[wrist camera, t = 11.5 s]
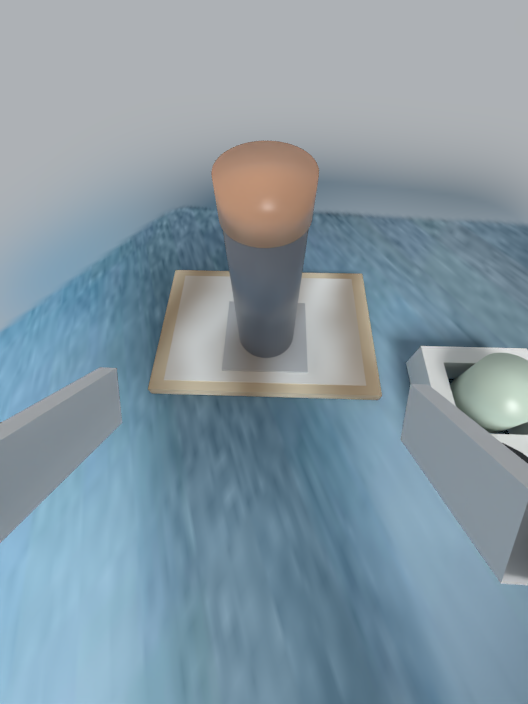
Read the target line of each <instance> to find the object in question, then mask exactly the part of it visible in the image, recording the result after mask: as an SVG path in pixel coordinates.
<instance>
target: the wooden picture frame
mask: <svg viewBox="0 0 528 704" xmlns="http://www.w3.org/2000/svg"><path fill="white" fill-rule="evenodd" d="M148 390H149V391H150V392H151V393H159V394H193V395H227V396H261V397H295V398H329V399H363V400H379V399H380V397H381V396H382V393H381V387H380V381H379V374H378V368H377V362H376V356H375V350H374V344H373V337H372V331H371V325H370V319H369V313H368V307H367V301H366V294H365V288H364V282H363V276H362V274H346V273H302V278H301V285H300V292H299V299H298V306H297V313H296V320H295V327H294V334H293V340H292V343H291V345H290V347H289V348H288V349H287V350H286V351H285V352H284V353H282V354H280V355H278V356H276V357H271V358H261V357H257V356H254V355H252V354H250V353H249V352H248V351H246V349H245V348H244V347H243V346H242V344H241V341H240V336H239V330H238V324H237V317H236V311H235V304H234V298H233V292H232V285H231V279H230V272H229V271H198V270H176V271H175V275H174V279H173V284H172V288H171V292H170V296H169V301H168V305H167V309H166V314H165V318H164V322H163V326H162V331H161V335H160V339H159V344H158V348H157V352H156V356H155V361H154V365H153V369H152V374H151V378H150V382H149V387H148Z"/></svg>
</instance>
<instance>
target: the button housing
mask: <svg viewBox="0 0 528 704" xmlns="http://www.w3.org/2000/svg"><path fill="white" fill-rule="evenodd" d="M492 353H509V354H513V355H517V356H519V357H522V358H524V359H526V360H527V361H528V350H527V349H522V348H483V347H444V346H420V348H419V349H418V350H417V351H416V352H415V353H414V354H413V355H412V357H411V358H410V359H409V360H408V361H407V362H406V365H407V370H408V374H409V379H410V384H427V385H430V386H431V387H432V388H433V389H435V390H436V391H437V392H438V393H440V394H441V395H442V396H443V397H445V398H446V399H447V400H448V401H450V402H451V403H452V404H453V405H455V401H454V398H453V394H452V391H451V387H450V384H449V380H448V378H449V379H455V378H457V377H458V376H459V375H461V374H462V373H464V372H465V371H466V370H468V369H469V368H470V367H472V366H473V365H474V364H476V363H477V362H478V361H480V360H481V359H482V358H484V357H485V356H487V355H489V354H492ZM455 406H456V405H455ZM508 431H509V434H491V435H492V436H494V437H495V438H496V439H497V440H499V441H500V442H501V443H504V444H506V445H508V446H510V447H512V448H514V449H516V450H518V451H520V452H522V453H523V454H524V455H526V456H527V457H528V422H526V423H523V424H520V425H518V426H515V427H512V428H510V429H508Z"/></svg>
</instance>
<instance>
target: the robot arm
mask: <svg viewBox="0 0 528 704" xmlns="http://www.w3.org/2000/svg"><path fill="white" fill-rule="evenodd" d="M121 423H122V417H121V407H120V397H119V387H118V377H117V368H103V367H100V368H98V369H96V370H95V371H93V372H91V373H89V374H87V375H86V376H84V377H82V378H80V379H78V380H77V381H75V382H73V383H71V384H70V385H68V386H66V387H64V388H62V389H61V390H59V391H57V392H55V393H53V394H52V395H50V396H48V397H46V398H44V399H43V400H41V401H39V402H37V403H36V404H34V405H32V406H30V407H28V408H27V409H25V410H23V411H21V412H19V413H18V414H16V415H14V416H12V417H11V418H9V419H7V420H5V421H3V422H1V423H0V543H1V542H2V541H3V540H4V539H5V538H6V537H7V536H8V535H9V534H10V533H11V532H12V531H13V530H14V529H15V528H16V527H17V526H18V525H19V524H20V523H21V522H22V521H23V520H24V519H25V518H26V517H27V516H28V515H29V514H30V513H31V512H32V511H33V510H34V509H35V508H36V507H37V506H38V505H39V504H40V503H41V502H42V501H43V500H44V499H45V498H46V497H47V496H48V495H49V494H50V493H51V492H52V491H53V490H55V489H56V488H57V487H58V486H59V485H60V484H61V483H62V482H63V481H64V480H65V479H66V478H67V477H68V476H69V475H70V474H71V473H72V472H73V471H74V470H75V469H76V468H77V467H78V466H79V465H80V464H81V463H82V462H83V461H84V460H85V459H86V458H87V457H88V456H89V455H90V454H91V453H92V452H93V451H94V450H95V449H96V448H97V447H98V446H99V445H100V444H101V443H102V442H103V441H104V440H105V439H106V438H107V437H108V436H109V435H110V434H111V433H112V432H113V431H114V430H115V429H116V428H117V427H118V426H119V425H120V424H121ZM401 441H402V442H403V444H404V445H405V447H406V448H407V449H408V451H409V452H410V454H411V455H412V457H413V458H414V459H415V461H416V462H417V464H418V465H419V467H420V468H421V470H422V471H423V472H424V474H425V475H426V477H427V478H428V480H429V481H430V482H431V484H432V485H433V487H434V488H435V490H436V491H437V492H438V494H439V495H440V497H441V498H442V500H443V501H444V503H445V504H446V505H447V507H448V508H449V510H450V511H451V513H452V514H453V515H454V517H455V518H456V520H457V521H458V523H459V524H460V525H461V527H462V528H463V530H464V531H465V533H466V534H467V536H468V537H469V538H470V540H471V541H472V543H473V544H474V546H475V547H476V548H477V550H478V551H479V553H480V554H481V556H482V557H483V558H484V560H485V561H486V563H487V564H488V566H489V567H490V569H491V570H492V571H493V573H494V574H495V576H496V577H497V579H498V580H499V581H500V583H502V584H515V585H528V457H527V456H526V455H524V454H523V453H522V452H520V451H518V450H516V449H514V448H512V447H510V446H508V445H506V444H504V443H501V442H500V441H499V440H497V439H496V438H495V437H494V436H492V435H491V434H490V433H489V432H487V431H486V430H485V429H484V428H482V427H481V426H480V425H479V424H477V423H476V422H475V421H474V420H472V419H471V418H470V417H468V416H467V415H466V414H465V413H463V412H462V411H461V410H460V409H458V408H457V407H456V406H455V405H453V404H452V403H451V402H450V401H448V400H447V399H446V398H445V397H443V396H442V395H441V394H440V393H438V392H437V391H436V390H435V389H433V388H432V387H431V386H430V385H427V384H410V389H409V395H408V400H407V406H406V411H405V417H404V422H403V428H402V434H401Z"/></svg>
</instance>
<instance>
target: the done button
mask: <svg viewBox="0 0 528 704" xmlns="http://www.w3.org/2000/svg"><path fill="white" fill-rule="evenodd" d="M450 387H451V391H452V394H453V398H454V401H455V405H456V407H457V408H458V409H460V410H461V411H462V412H463V413H465V414H466V415H467V416H468V417H470V418H471V419H472V420H474V421H475V422H476V423H477V424H479V425H480V426H481V427H482V428H484V429H485V430H486V431H487V432H489V433H498V432H502V431H504V430H507V429H510V428H512V427H515V426H518V425H520V424H523V423H526V422H528V361H527V360H526V359H524V358H522V357H519V356H517V355H513V354H509V353H492V354H489V355H487V356H485V357H484V358H482V359H481V360H480V361H478V362H477V363H476V364H474V365H473V366H472V367H470V368H469V369H468V370H466V371H465V372H464V373H462V374H461V375H459V376H458V377H457V378H455V379H454V380H453V381H452V383H451V384H450Z"/></svg>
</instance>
